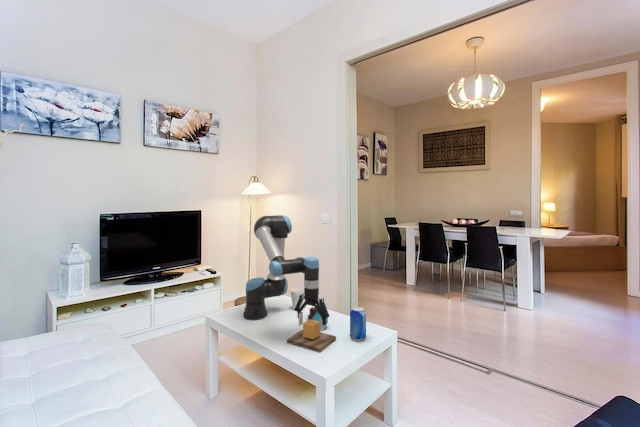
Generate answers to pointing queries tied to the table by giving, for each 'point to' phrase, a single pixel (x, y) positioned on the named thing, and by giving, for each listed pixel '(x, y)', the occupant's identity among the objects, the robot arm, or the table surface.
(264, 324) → the table surface
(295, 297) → the foam cup
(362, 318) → the beer can
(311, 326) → the wooden toy cube
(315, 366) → the table surface
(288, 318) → the table surface
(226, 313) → the table surface
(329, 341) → the post board
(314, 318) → the perfume bottle
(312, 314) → the stack of crates
